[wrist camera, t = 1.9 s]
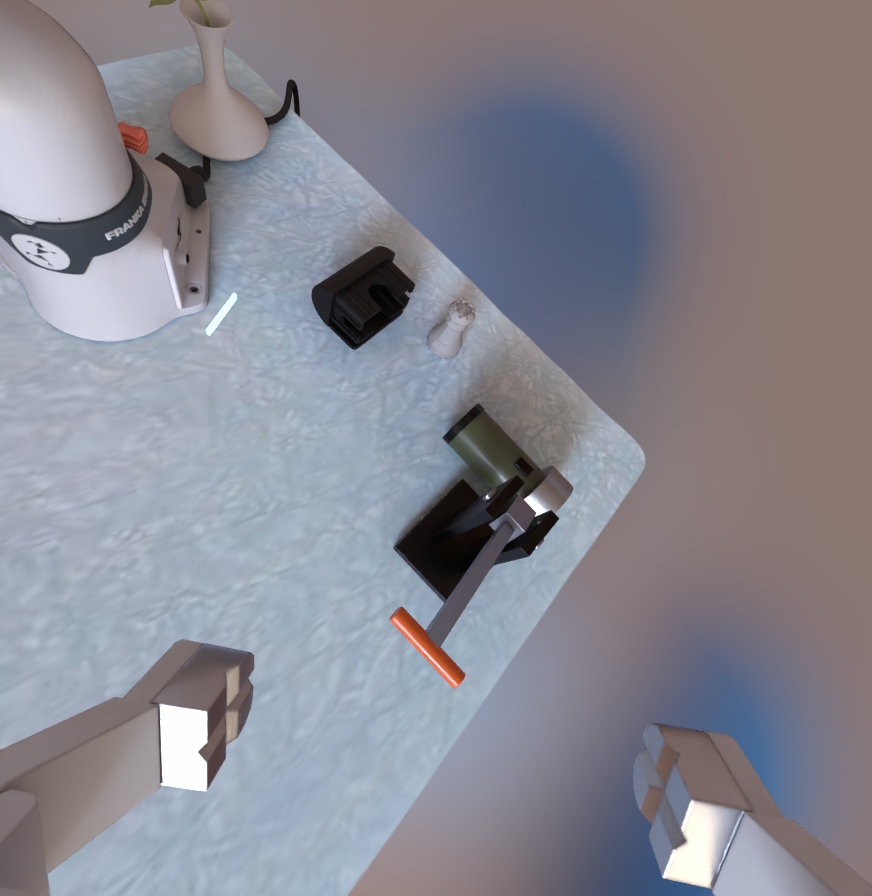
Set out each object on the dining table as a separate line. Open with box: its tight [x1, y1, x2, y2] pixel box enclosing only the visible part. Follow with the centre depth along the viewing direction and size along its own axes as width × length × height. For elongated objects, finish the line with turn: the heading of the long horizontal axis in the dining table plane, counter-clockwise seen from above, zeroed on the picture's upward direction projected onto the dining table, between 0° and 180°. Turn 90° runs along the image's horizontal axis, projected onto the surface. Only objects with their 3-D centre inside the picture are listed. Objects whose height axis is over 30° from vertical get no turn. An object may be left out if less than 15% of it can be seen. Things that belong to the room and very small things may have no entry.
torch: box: [443, 403, 573, 516], centre depth 52 cm, size 14×7×7 cm, turn 47°
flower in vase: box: [149, 0, 269, 161], centre depth 48 cm, size 13×11×25 cm
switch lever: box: [390, 494, 537, 688], centre depth 33 cm, size 16×6×2 cm, turn 136°
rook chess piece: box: [427, 299, 475, 359], centre depth 56 cm, size 4×4×8 cm
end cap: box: [312, 246, 415, 349], centre depth 54 cm, size 10×7×7 cm
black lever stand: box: [393, 475, 559, 603], centre depth 44 cm, size 11×9×16 cm
